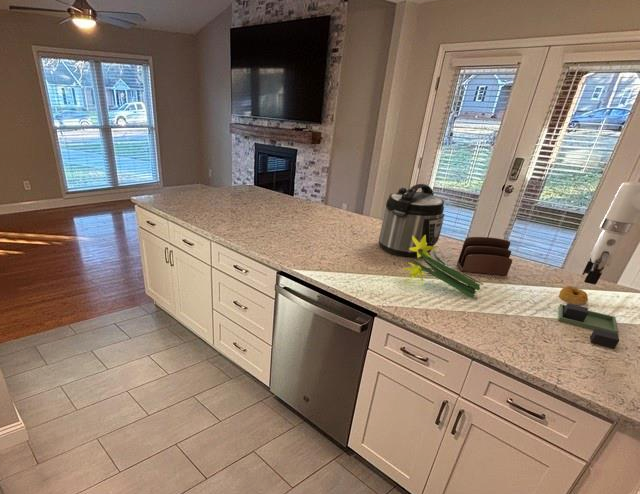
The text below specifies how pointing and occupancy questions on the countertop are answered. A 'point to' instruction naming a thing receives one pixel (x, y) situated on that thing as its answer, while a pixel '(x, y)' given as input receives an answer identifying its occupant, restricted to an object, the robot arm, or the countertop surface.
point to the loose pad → (604, 338)
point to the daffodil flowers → (422, 251)
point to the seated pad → (575, 312)
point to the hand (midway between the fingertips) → (589, 278)
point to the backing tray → (591, 321)
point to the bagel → (573, 295)
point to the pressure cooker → (411, 220)
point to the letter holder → (485, 256)
